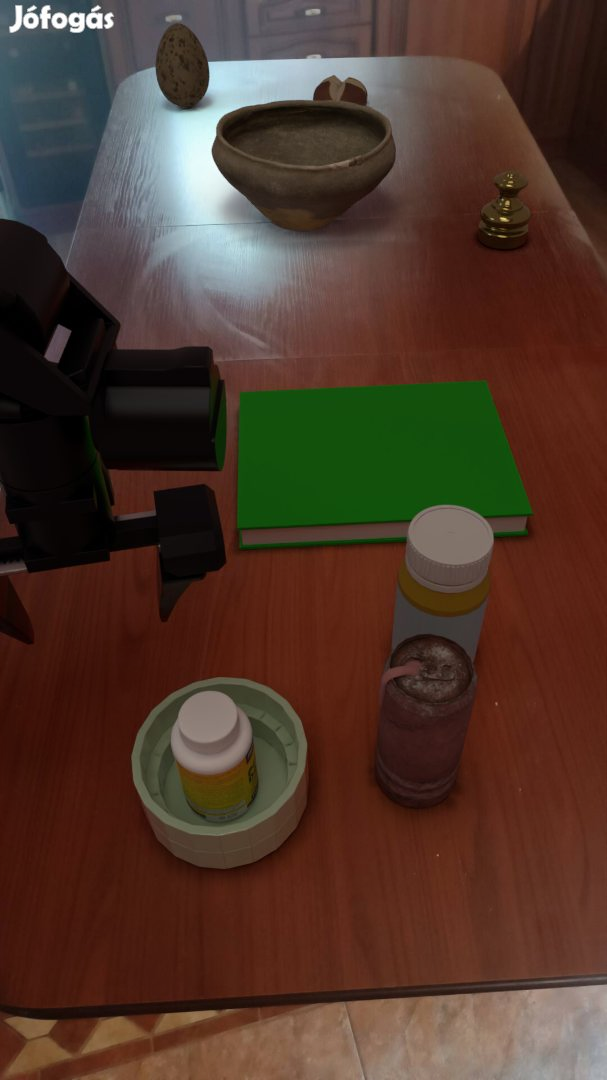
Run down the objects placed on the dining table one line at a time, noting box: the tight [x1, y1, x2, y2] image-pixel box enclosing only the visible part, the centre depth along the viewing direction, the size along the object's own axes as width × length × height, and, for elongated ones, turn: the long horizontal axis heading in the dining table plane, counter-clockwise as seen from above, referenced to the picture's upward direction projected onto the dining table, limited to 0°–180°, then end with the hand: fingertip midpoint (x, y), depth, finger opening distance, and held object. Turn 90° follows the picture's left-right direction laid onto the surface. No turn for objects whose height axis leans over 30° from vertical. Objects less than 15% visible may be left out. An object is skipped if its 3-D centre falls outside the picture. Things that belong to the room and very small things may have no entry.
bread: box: [312, 74, 368, 107], centre depth 163 cm, size 11×11×5 cm
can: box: [374, 633, 479, 809], centre depth 56 cm, size 6×6×14 cm
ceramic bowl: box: [130, 676, 310, 870], centre depth 58 cm, size 12×12×6 cm
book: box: [236, 379, 534, 551], centre depth 85 cm, size 22×28×3 cm
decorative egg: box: [154, 22, 211, 109], centre depth 162 cm, size 11×11×15 cm
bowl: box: [210, 99, 397, 232], centre depth 124 cm, size 28×28×14 cm
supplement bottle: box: [171, 691, 258, 822], centre depth 56 cm, size 6×6×10 cm
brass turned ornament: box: [477, 169, 532, 250], centre depth 118 cm, size 7×7×10 cm
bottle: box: [391, 505, 495, 664], centre depth 63 cm, size 7×7×15 cm
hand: (98, 628), depth 57 cm, fingers open, 9 cm apart
